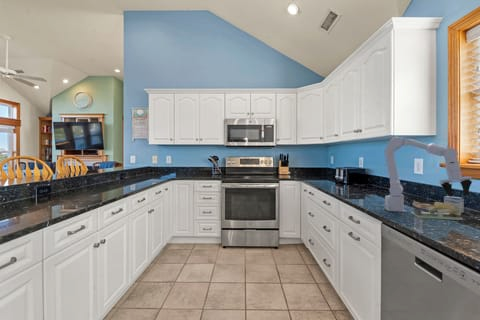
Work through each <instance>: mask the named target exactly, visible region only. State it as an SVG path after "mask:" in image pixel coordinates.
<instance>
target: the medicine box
mask: <svg viewBox="0 0 480 320" xmlns="http://www.w3.org/2000/svg"><path fill="white" fill-rule="evenodd" d="M464 198H465V197H459V196H453V197H450V196H448V195H446V196H443V203H445V204H449V205H451V206H452V208H454V209H456V210H459V211H461V214H463V213H464V212H465V207H464V205H465V204H464V203H465V199H464Z"/></svg>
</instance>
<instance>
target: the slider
mask: <svg viewBox="0 0 480 320" xmlns="http://www.w3.org/2000/svg"><path fill="white" fill-rule="evenodd" d="M433 205H434V207H439V208H444V209H450V210H452V206H451V205H449V204H445V203H444V202H438V201H434V203H433Z"/></svg>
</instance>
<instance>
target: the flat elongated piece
mask: <svg viewBox="0 0 480 320" xmlns="http://www.w3.org/2000/svg"><path fill="white" fill-rule="evenodd" d="M412 206H414V207H416V208H417V209H423V210H426V211H427V210H428V211H429V210H433V211H434V212H437V210H443V213H450V214H455V215H459V216H461V215H462V213H461V211H459V210H456V209H454V208H452V210H450V209H444V208H439V207H434V204H430V203H424V202H417V201H413V202H412Z"/></svg>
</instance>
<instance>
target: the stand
mask: <svg viewBox="0 0 480 320" xmlns="http://www.w3.org/2000/svg"><path fill="white" fill-rule="evenodd" d="M410 214H412V215H413V216H415V217H417V218H418V219H432V220H433V219H434V220H438V219H439V220H451V221H453V220H457V221H464V218H463V217H461V216H460V215H455V214H450V213H444V212H443V210H437V211H436V212H435V211H433V210H428V212H427V211H426V212H425V211H422V210H420V208H413V211H411V212H410Z"/></svg>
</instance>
